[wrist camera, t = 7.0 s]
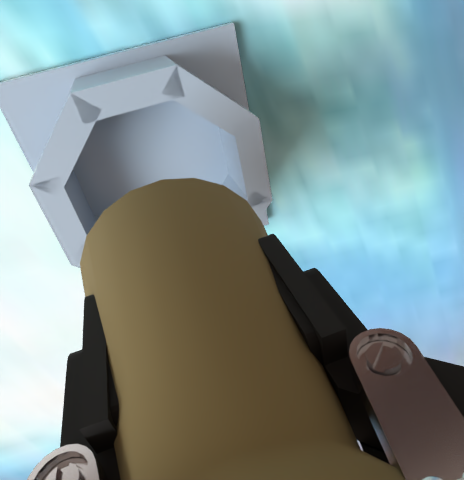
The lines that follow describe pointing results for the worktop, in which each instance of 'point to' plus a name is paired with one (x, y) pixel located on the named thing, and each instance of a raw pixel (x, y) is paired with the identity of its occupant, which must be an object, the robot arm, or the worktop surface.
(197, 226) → the cork
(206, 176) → the grey octagonal holder
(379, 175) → the worktop surface
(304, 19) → the worktop surface
